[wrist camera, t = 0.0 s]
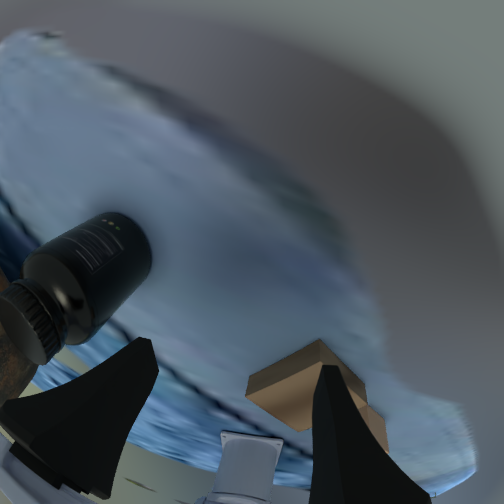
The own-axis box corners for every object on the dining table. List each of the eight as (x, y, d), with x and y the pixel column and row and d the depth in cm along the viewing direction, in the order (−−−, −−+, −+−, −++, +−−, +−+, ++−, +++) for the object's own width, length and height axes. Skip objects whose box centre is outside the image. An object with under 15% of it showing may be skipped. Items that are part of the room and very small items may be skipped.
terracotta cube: (384, 418, 26) (389, 453, 21) (348, 434, 27) (349, 467, 23) (366, 403, 25) (371, 441, 20) (327, 419, 26) (327, 456, 22)
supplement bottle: (144, 298, 23) (65, 397, 12) (86, 263, 23) (-3, 337, 12) (163, 231, 20) (52, 327, 9) (95, 197, 20) (-23, 256, 9)
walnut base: (364, 381, 24) (367, 404, 21) (299, 410, 27) (298, 432, 24) (319, 336, 22) (320, 361, 19) (250, 373, 25) (244, 396, 22)
